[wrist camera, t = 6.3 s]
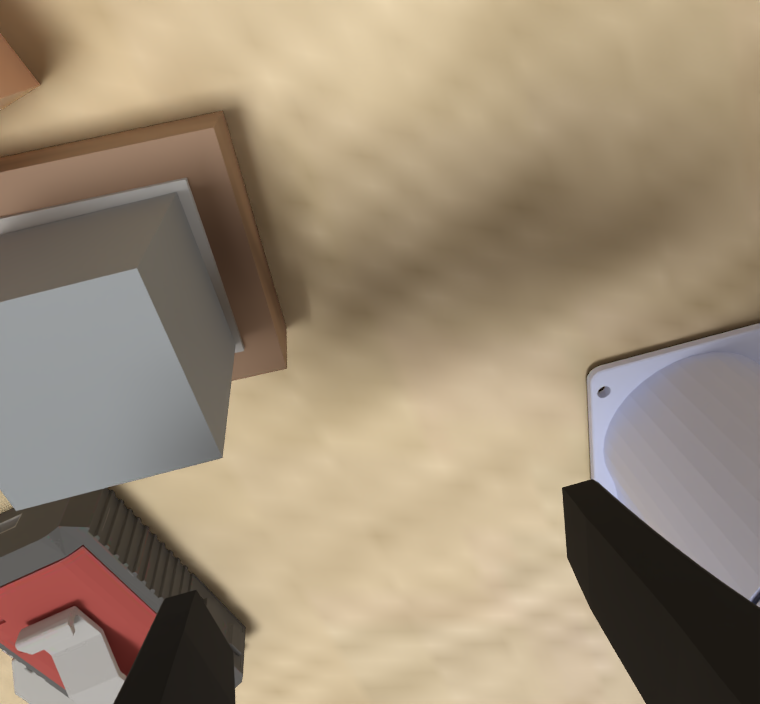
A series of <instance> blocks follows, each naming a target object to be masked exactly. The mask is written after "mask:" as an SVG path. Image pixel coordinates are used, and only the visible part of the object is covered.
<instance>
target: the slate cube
mask: <svg viewBox="0 0 760 704" xmlns="http://www.w3.org/2000/svg"><path fill="white" fill-rule="evenodd" d="M235 346H236V344H235V342H234V339H233V336H232V334H231V331H230V329H229V326H228V323H227V321H226V318H225V316H224V313H223V310H222V308H221V305H220V303H219V300H218V297H217V295H216V292H215V290H214V287H213V284H212V282H211V279H210V277H209V274H208V271H207V269H206V266H205V264H204V261H203V258H202V256H201V253H200V251H199V248H198V245H197V243H196V240H195V238H194V235H193V232H192V230H191V227H190V225H189V222H188V219H187V217H186V214H185V212H184V209H183V206H182V204H181V201H180V199H179V196H178V194H177V192H173V193H169V194H165V195H161V196H157V197H153V198H149V199H145V200H141V201H137V202H133V203H129V204H124V205H120V206H116V207H112V208H108V209H104V210H100V211H96V212H92V213H88V214H84V215H80V216H76V217H72V218H67V219H63V220H59V221H55V222H51V223H47V224H43V225H39V226H35V227H31V228H27V229H23V230H19V231H15V232H10V233H6V234H2V235H0V490H1V491H2V493H3V494H4V495H5V497H6V498H7V499H8V501H9V502H10V503H11V505H12V506H13V508H14V509H15V510H16V511H18V510H22V509H26V508H30V507H34V506H38V505H41V504H45V503H49V502H53V501H57V500H61V499H65V498H69V497H72V496H76V495H80V494H84V493H88V492H92V491H96V490H100V489H104V488H107V487H111V486H115V485H119V484H123V483H127V482H131V481H135V480H138V479H142V478H146V477H150V476H154V475H158V474H162V473H166V472H170V471H173V470H177V469H181V468H185V467H189V466H193V465H197V464H201V463H204V462H208V461H212V460H216V459H220V458H223V449H224V440H225V432H226V423H227V415H228V406H229V397H230V389H231V380H232V372H233V363H234V354H235Z"/></svg>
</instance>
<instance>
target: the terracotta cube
mask: <svg viewBox="0 0 760 704" xmlns="http://www.w3.org/2000/svg"><path fill="white" fill-rule="evenodd" d="M38 86H40V84H39V82H38V81H37V80H36V79H35V77H34V76H33V75H32V73H31V72H30V71H29V69H28V68H27V67H26V66H25V64H24V63H23V62H22V60H21V59H20V58H19V57H18V55H17V54H16V53H15V51H14V50H13V49H12V47H11V46H10V45H9V44H8V42H7V41H6V40H5V38H4V37H3V36H2V34H1V33H0V111H1V110H2V109H4V108H5V107H7V106H8V105H10V104H12V103H13V102H15V101H16V100H18V99H19V98H21V97H23V96H24V95H26V94H27V93H29V92H30V91H32V90H33V89H35V88H37V87H38Z"/></svg>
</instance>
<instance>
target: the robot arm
mask: <svg viewBox="0 0 760 704" xmlns="http://www.w3.org/2000/svg"><path fill="white" fill-rule="evenodd" d="M604 386H605V388H604V389H603V390H602V391H600V392H598V390H599V389H600V388H602V387H604ZM587 395H588V418H589V441H590V464H591V480H588V481H584V482H581V483H577V484H574V485H570V486H566V487H563V488H562V493H563V506H564V520H565V533H566V547H567V558H568V560H569V562H570V565H571V567H572V569H573V571H574V574H575V576H576V578H577V580H578V583H579V585H580V587H581V589H582V591H583V594H584V596H585V598H586V600H587V602H588V604H589V607H590V609H591V610H592V612H593V614H594V616H595V617H596V619H597V621H598V623H599V624H600V626H601V628H602V629H603V631H604V633H605V635H606V636H607V638H608V640H609V641H610V643H611V645H612V647H613V648H614V650H615V652H616V653H617V655H618V657H619V659H620V660H621V662H622V664H623V665H624V667H625V669H626V670H627V672H628V674H629V676H630V677H631V679H632V681H633V682H634V684H635V686H636V687H637V689H638V691H639V693H640V694H641V696H642V698H643V699H644V701H645V703H646V704H760V323H758V324H754V325H750V326H747V327H743V328H739V329H735V330H732V331H728V332H724V333H720V334H717V335H713V336H709V337H705V338H702V339H698V340H694V341H690V342H687V343H683V344H679V345H675V346H672V347H668V348H664V349H660V350H657V351H653V352H649V353H645V354H642V355H638V356H634V357H630V358H627V359H623V360H619V361H615V362H612V363H608V364H604V365H600V366H598V367H595V368H594V369H592V370H591V371H590V373H589V374H588V376H587ZM113 704H235V677H234V656H233V650H232V649H231V647H230V645H229V643H228V642H227V640H226V638H225V637H224V635H223V633H222V632H221V630H220V628H219V627H218V625H217V623H216V622H215V620H214V618H213V617H212V615H211V613H210V612H209V610H208V608H207V607H206V605H205V603H204V602H203V600H202V598H201V597H200V595H199V593H198V592H197V590H193V591H190V592H186V593H183V594H179V595H175V596H172V597H168V598H165V599H164V601H163V602H162V604H161V606H160V608H159V610H158V612H157V615H156V617H155V619H154V621H153V623H152V625H151V627H150V629H149V631H148V634H147V636H146V638H145V640H144V642H143V644H142V646H141V648H140V650H139V652H138V655H137V657H136V659H135V661H134V663H133V665H132V667H131V669H130V671H129V673H128V675H127V677H126V679H125V681H124V683H123V685H122V687H121V689H120V691H119V693H118V695H117V697H116V699H115V701H114V703H113Z"/></svg>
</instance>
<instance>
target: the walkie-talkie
mask: <svg viewBox="0 0 760 704" xmlns="http://www.w3.org/2000/svg"><path fill="white" fill-rule="evenodd" d="M123 504H124V501H123V500H122V499H121V500H118V499H117V497H116V496H115V492H114V491H113V490H111V491H110V490H109V489H108V488H104V489H100V490H96V491H92V492H88V493H84V494H80V495H76V496H72V497H69V498H65V499H61V500H57V501H53V502H49V503H45V504H41V505H38V506H34V507H30V508H26V509H22V510H18V511H16V510H15V509H14V508H12V509H10V510H7V511H5V512H3V513H1V514H0V648H1V649H2V651H3V652H5V653H6V654H7V655H9V656H10V657H12V658H13V659H12V668H13V679H14V690H15V694H16V695H18V696H19V697H21V698H22V699H24V700H25V701H26V702H28V703H29V704H113V703H114V701H115V699H116V697H117V695H118V693H119V691H120V689H121V687H122V685H123V683H124V681H125V679H126V677H127V675H128V673H129V671H130V669H131V667H132V665H133V663H134V661H135V659H136V657H137V655H138V652H139V650H140V648H141V646H142V644H143V642H144V640H145V638H146V636H147V634H148V631H149V629H150V627H151V625H152V623H153V621H154V619H155V617H156V615H157V612H158V610H159V608H160V606H161V604H162V602H163V601H164V599H165V598H168V597H172V596H175V595H179V594H183V593H186V592H190V591H193V590H197V592H198V593H199V595H200V597H201V598H202V600H203V602H204V603H205V605H206V607H207V608H208V610H209V612H210V613H211V615H212V617H213V618H214V620H215V622H216V623H217V625H218V627H219V628H220V630H221V632H222V633H223V635H224V637H225V638H226V640H227V642H228V643H229V645H230V647H231V649H232V650H233V656H234V677H235V688H236V687H237V686H238V685H239V684H240V683H241V682H242V677H243V664H244V645H245V626H244V625H243V624H242V623H241V622H240V621H239V620H238V619H237V618H236V617H235V616H234V615H233V614H232V613H231V612H230V611H229V610H228V609H227V608H226V607H225V606H224V605H223V604H222V603H221V602H220V601H219V600H218V599H217V597H216V596H215V595H214V594H213V593H212V592H211V591H210V590H209V589H208V588H207V587H206V586H205V585H204V584H203V583H202V582H201V581H200V580H199V579H198V578H197V577H196V576H195V575H194V574H193V573H191V574H190V573H189V572H188V571H187V570H188V568H187V567H186V566H183V565H182V564H181V563H180V559H179V558H175V557H174V556H173V552H172V551H171V550H169V551H168V550H167V549H166V548H165V544H164V543H163V542H162V543H160V542H159V541H158V540H157V535H156V534H153V535H152V534H151V532H150V531H149V527H148V526H144V525H143V524H142V523H141V519H140V518H139V517H137V518H136V517H135V516H134V515H133V514H132V512H133V511H132V510H131V509H127V508H126V507H125V506H124V505H123Z"/></svg>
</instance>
